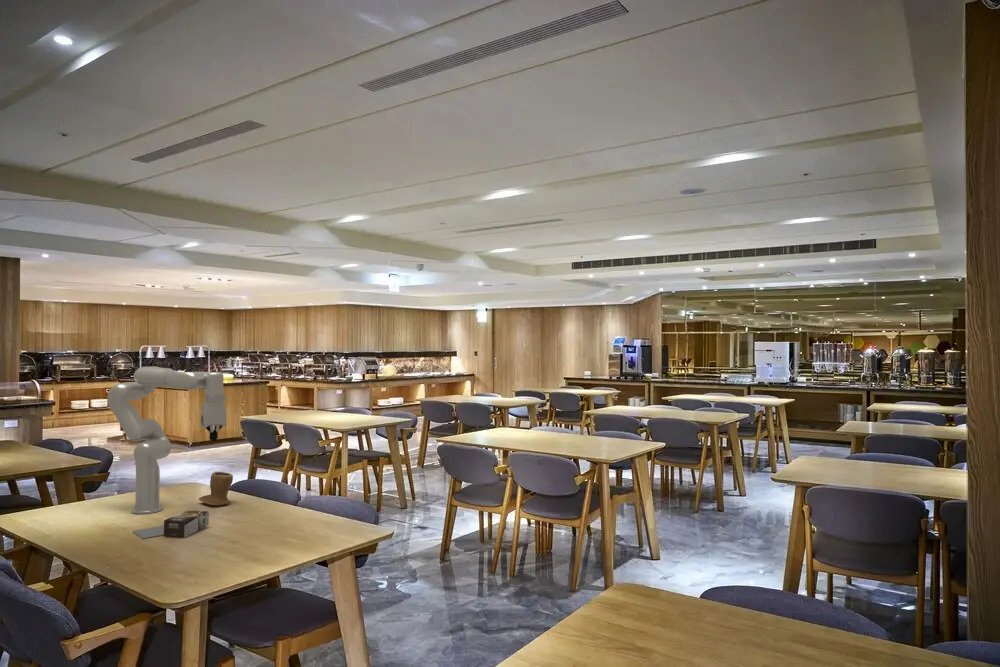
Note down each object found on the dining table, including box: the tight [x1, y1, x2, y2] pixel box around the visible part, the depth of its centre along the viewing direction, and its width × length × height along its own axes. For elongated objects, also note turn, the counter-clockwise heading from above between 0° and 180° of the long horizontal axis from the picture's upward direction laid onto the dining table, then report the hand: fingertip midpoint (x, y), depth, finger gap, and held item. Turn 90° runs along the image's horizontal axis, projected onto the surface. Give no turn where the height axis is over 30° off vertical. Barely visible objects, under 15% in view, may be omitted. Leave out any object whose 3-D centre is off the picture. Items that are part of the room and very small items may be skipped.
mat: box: [132, 525, 164, 540], centre depth 261 cm, size 14×18×1 cm
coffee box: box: [163, 508, 210, 539], centre depth 260 cm, size 9×6×16 cm
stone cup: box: [198, 471, 234, 507], centre depth 307 cm, size 15×12×15 cm
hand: (213, 440), depth 291 cm, fingers closed
